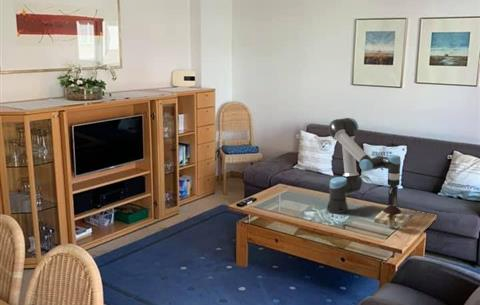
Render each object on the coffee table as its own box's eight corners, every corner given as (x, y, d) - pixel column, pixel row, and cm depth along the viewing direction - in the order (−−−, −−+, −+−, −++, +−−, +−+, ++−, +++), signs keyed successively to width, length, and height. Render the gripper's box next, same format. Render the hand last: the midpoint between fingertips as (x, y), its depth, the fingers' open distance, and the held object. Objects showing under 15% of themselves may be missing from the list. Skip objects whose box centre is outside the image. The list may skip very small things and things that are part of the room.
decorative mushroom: (380, 225, 321) (381, 203, 318) (396, 224, 322) (397, 202, 319) (386, 231, 311) (387, 208, 308) (403, 230, 312) (404, 207, 309)
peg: (388, 217, 329) (388, 196, 326) (389, 215, 332) (390, 195, 329) (394, 218, 326) (395, 197, 324) (396, 216, 330) (396, 196, 327)
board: (373, 222, 327) (374, 218, 327) (382, 214, 342) (382, 210, 341) (401, 227, 318) (401, 222, 317) (408, 219, 332) (409, 214, 332)
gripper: (395, 182, 315) (394, 217, 320) (403, 176, 329) (401, 210, 334) (384, 181, 319) (382, 215, 324) (391, 175, 333) (390, 208, 338)
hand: (392, 213), depth 329 cm, fingers closed on peg, 4 cm apart
